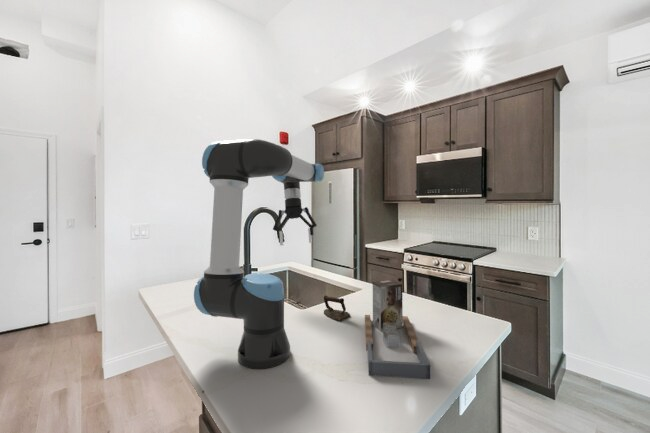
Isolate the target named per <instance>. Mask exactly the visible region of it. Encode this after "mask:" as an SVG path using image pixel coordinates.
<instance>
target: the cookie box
mask: <svg viewBox="0 0 650 433" xmlns="http://www.w3.org/2000/svg"><path fill="white" fill-rule="evenodd" d="M403 316H404V314H403V283H401V282H399V281H397V280H395V279H387V280H379V281H378V280H377V281H372V325H373V326H374V327H375V328H376V329H377V330H378V331H380V332H383V322H395V324H396V329H402V328H404V325H403V321H402V317H403Z"/></svg>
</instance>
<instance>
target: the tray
mask: <svg viewBox="0 0 650 433" xmlns="http://www.w3.org/2000/svg"><path fill="white" fill-rule="evenodd" d="M372 352H373V351H372V349H371V339H367V352H366V353H367V354H366V355H367V368H368V376H375V377H377V376H378V377H379V376H380V377H395V378H409V379H410V378H412V379H428V380H430V379H431V364H430V362H429V360H428V357H427V354H426V353H425V351H424V348H423V346H422V343H421V342H420V341H418V342H416V353H415V354H416V356H417V359H418V361H419V362H412V361H411V362H409V361H395V360H394V361H393V360H392V361H391V360H377V359H376V360H374V359H373V353H372Z"/></svg>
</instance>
